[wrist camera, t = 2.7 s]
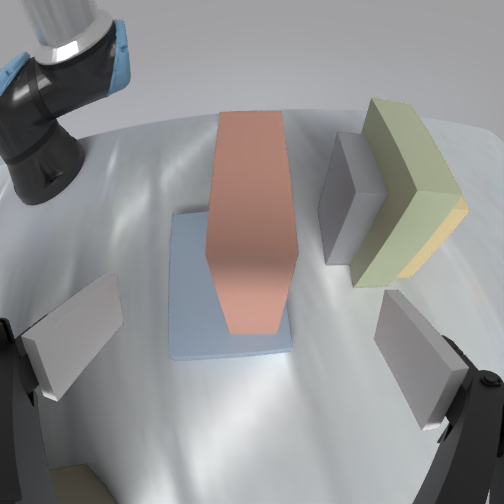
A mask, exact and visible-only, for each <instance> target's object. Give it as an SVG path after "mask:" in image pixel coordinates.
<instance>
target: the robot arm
mask: <svg viewBox="0 0 504 504" xmlns="http://www.w3.org/2000/svg"><path fill="white" fill-rule="evenodd" d="M18 1H19V3H20V5H21V7H22V9H23V11H24V13H25V15H26V17H27V19H28V21H29V23H30V26H31V27H32V29H33V31H34V33H35V35H36V37H37V39H38V43H37V45H36V47H35V50H34V57H32V58H30V55H29V54H28V53H27V52H24V53H22V54H20V55H18V56H17V57H15V58H14V59H13V60H11V61H10V62H9V63H7V64H6V65H5V66H4V67H3V68H1V69H0V155H1V157H2V159H3V160H4V161H5V163H6V164H7V166H8V169H9V172H10V175H11V178H12V181H13V184H14V189H15V192H16V194H17V195H18V197H19V198H20V199H21V201H22V202H23V203H25V204H27V205H37V204H41V203H43V202H45V201H48V200H49V199H51V198H53V197H54V196H56V195H57V194H58V193H60V192H61V191H62V190H63V189H64V188H65V187H67V186H68V185H69V183H70V182H71V181H72V180H73V179H74V178H75V176H76V175H77V173H78V172H79V170H80V168H81V166H82V164H83V160H84V152H83V150H82V148H81V146H80V144H79V142H78V141H77V140H76V139H75V138H74V137H72V136H70V135H69V133H68V132H67V131H66V130H65V129H64V128H63V127H62V126H60V125H59V123H58V121H57V119H56V118H58V117H60V116H62V115H64V114H66V113H68V112H71V111H73V110H74V109H77V108H80V107H82V106H84V105H87V104H89V103H92V102H94V101H97V100H99V99H102V98H104V97H108V96H109V95H110V94H112V93H115V92H117V91H119V90H122V89H123V88H125V87H126V86H127V85H128V84H129V82H130V76H131V75H130V62H129V52H128V49H127V48H128V45H127V36H126V29H125V24H124V21H123V20H112V16H111V14H110V13H109V12H108V11H106V10H103V9H98V8H97V5H96V1H95V0H18ZM122 324H123V316H122V310H121V303H120V295H119V287H118V279H117V275H115V274H103V275H102V276H100V277H99V278H97V279H96V280H95V281H93V282H92V283H90V284H89V285H88V286H86V287H85V288H83V289H82V290H81V291H79V292H78V293H76V294H75V295H74V296H72V297H71V298H70V299H68V300H67V301H66V302H64V303H63V304H62V305H60V306H59V307H58V308H56V309H55V310H54V311H52V312H51V313H50V314H47V315H45V316H44V317H42V318H41V319H40V320H38V322H36V323H35V324H33V325H32V327H29V328H28V329H27V330H26V331H24V332H23V333H22V334H21V335H19V336H18V337H17V338H16V339H14V336H13V333H12V330H11V326H10V323H9V320H7V319H6V318H0V504H58V502H57V499H56V495H55V492H54V488H53V485H52V481H51V477H50V473H49V469H48V464H47V460H46V455H45V450H44V444H43V439H42V433H41V426H40V419H39V411H38V401H37V395H36V393H35V390H34V389H35V388H36V387H37V386H38V385H39V386H40V389H41V391H42V393H43V395H44V396H45V397H47V398H50V399H52V400H55V401H59V400H60V398H61V397H62V396H63V395H64V393H65V392H66V391H67V390H68V388H69V387H70V386H71V385H72V383H73V382H74V381H75V380H76V379H77V377H78V376H79V375H80V374H81V372H82V371H83V370H84V369H85V368H86V366H87V365H88V364H89V363H90V362H91V360H92V359H93V358H94V357H95V356H96V355H97V353H98V352H99V351H100V350H101V349H102V348H103V346H104V345H105V344H106V343H107V342H108V341H109V339H110V338H111V337H112V336H113V335H114V334H115V332H116V331H117V330H118V329H119V328H120V327H121V326H122ZM374 340H375V342H376V344H377V346H378V347H379V349H380V351H381V353H382V355H383V356H384V358H385V360H386V362H387V364H388V366H389V368H390V369H391V371H392V373H393V375H394V377H395V379H396V381H397V383H398V385H399V387H400V388H401V390H402V392H403V394H404V396H405V398H406V400H407V402H408V404H409V406H410V408H411V410H412V412H413V414H414V416H415V418H416V420H417V422H418V424H419V426H420V428H421V431H425V430H429V429H434V428H438V427H439V426H440V424H441V422H442V421H443V419H444V417H445V416H446V417H447V419H448V421H449V424H448V425H447V427H446V429H445V430H444V432H443V434H442V435H441V437H440V438H439V440H438V441H437V443H440V445H439V447H438V450H437V452H436V455H435V457H434V460H433V462H432V464H431V467H430V469H429V471H428V473H427V476H426V478H425V480H424V482H423V484H422V486H421V488H420V490H419V492H418V494H417V496H416V498H415V500H414V502H413V504H485V503H486V500H487V496H488V492H489V489H490V499H489V504H504V383H503V380H502V379H501V378H500V377H499V376H498V375H497V374H495V373H493V372H491V371H487V370H481V371H479V370H478V369H477V368H476V367H475V366H474V364H473V363H472V362H471V361H470V360H469V359H468V358H467V356H466V355H463V352H462V351H461V350H460V349H459V348H458V346H457V345H456V344H455V343H454V342H453V341H452V340H450V339H449V338H447V337H445V336H444V335H440V334H439V333H438V331H437V330H436V329H435V328H434V327H433V326H432V325H431V324H430V323H429V322H428V321H427V319H426V318H425V317H424V316H423V315H422V314H421V313H420V312H419V311H418V310H417V309H416V308H415V307H414V306H413V305H412V304H411V303H410V301H409V300H408V299H407V298H406V297H405V296H404V295H403V294H402V293H401V292H400V291H399V290H385V291H384V296H383V301H382V306H381V310H380V315H379V319H378V324H377V328H376V332H375V336H374Z"/></svg>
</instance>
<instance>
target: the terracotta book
mask: <svg viewBox="0 0 504 504" xmlns="http://www.w3.org/2000/svg"><path fill="white" fill-rule="evenodd" d="M205 256H206V259H207V263H208V266H209V269H210V272H211V276H212V279H213V282H214V285H215V288H216V292H217V295H218V298H219V301H220V304H221V307H222V310H223V313H224V317H225V320H226V323H227V326H228V329H229V332H230V334H277V331H278V328H279V324H280V321H281V317H282V314H283V310H284V306H285V303H286V299H287V295H288V291H289V288H290V284H291V280H292V276H293V272H294V269H295V265H296V261H297V257H298V244H297V234H296V224H295V215H294V206H293V197H292V188H291V180H290V172H289V164H288V156H287V149H286V142H285V134H284V127H283V121H282V114H281V111H234V112H220V117H219V124H218V132H217V140H216V148H215V157H214V165H213V174H212V184H211V193H210V203H209V214H208V225H207V236H206V248H205Z"/></svg>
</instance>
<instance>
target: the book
mask: <svg viewBox="0 0 504 504" xmlns="http://www.w3.org/2000/svg"><path fill="white" fill-rule="evenodd" d="M49 473H50V477H51V481H52V485H53V488H54V492H55V495H56V499H57V502H58V504H117V503H116V501H115V500H114V499H113V497H112V496H111V494H110V493H109V491H108V490H107V488H106V486H105V485H104V484H103V483H102V482H101V481H100V480H99V478H98V477H97V476H96V475H95V474H94V473H93V472H92V471H91V469H90V468H89V467H88V466H87V465H86V464H81V465H76V466H71V467H65V468H59V469H52V470H49Z"/></svg>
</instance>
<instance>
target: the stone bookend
mask: <svg viewBox="0 0 504 504" xmlns="http://www.w3.org/2000/svg"><path fill="white" fill-rule="evenodd" d="M387 195H388V192H387V189H386V186H385V184H384V181H383V178H382V175H381V173H380V170H379V167H378V165H377V162H376V160H375V157H374V155H373V152H372V150H371V147H370V145H369V143H368V140H367V138H366V136H365V135H364V134H353V133H341V132H337V136H336V140H335V144H334V149H333V153H332V157H331V161H330V165H329V169H328V173H327V177H326V181H325V185H324V188H323V192H322V196H321V200H320V203H319V207H318V216H319V222H320V228H321V235H322V242H323V249H324V256H325V263H326V265H350V263H351V262H352V260H353V258H354V256H355V255H356V253H357V251H358V249H359V248H360V246H361V244H362V242H363V241H364V239H365V237H366V235H367V233H368V231H369V230H370V228H371V226H372V224H373V222H374V220H375V219H376V217H377V215H378V213H379V211H380V209H381V207H382V205H383V203H384V201H385V199H386V197H387Z"/></svg>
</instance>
